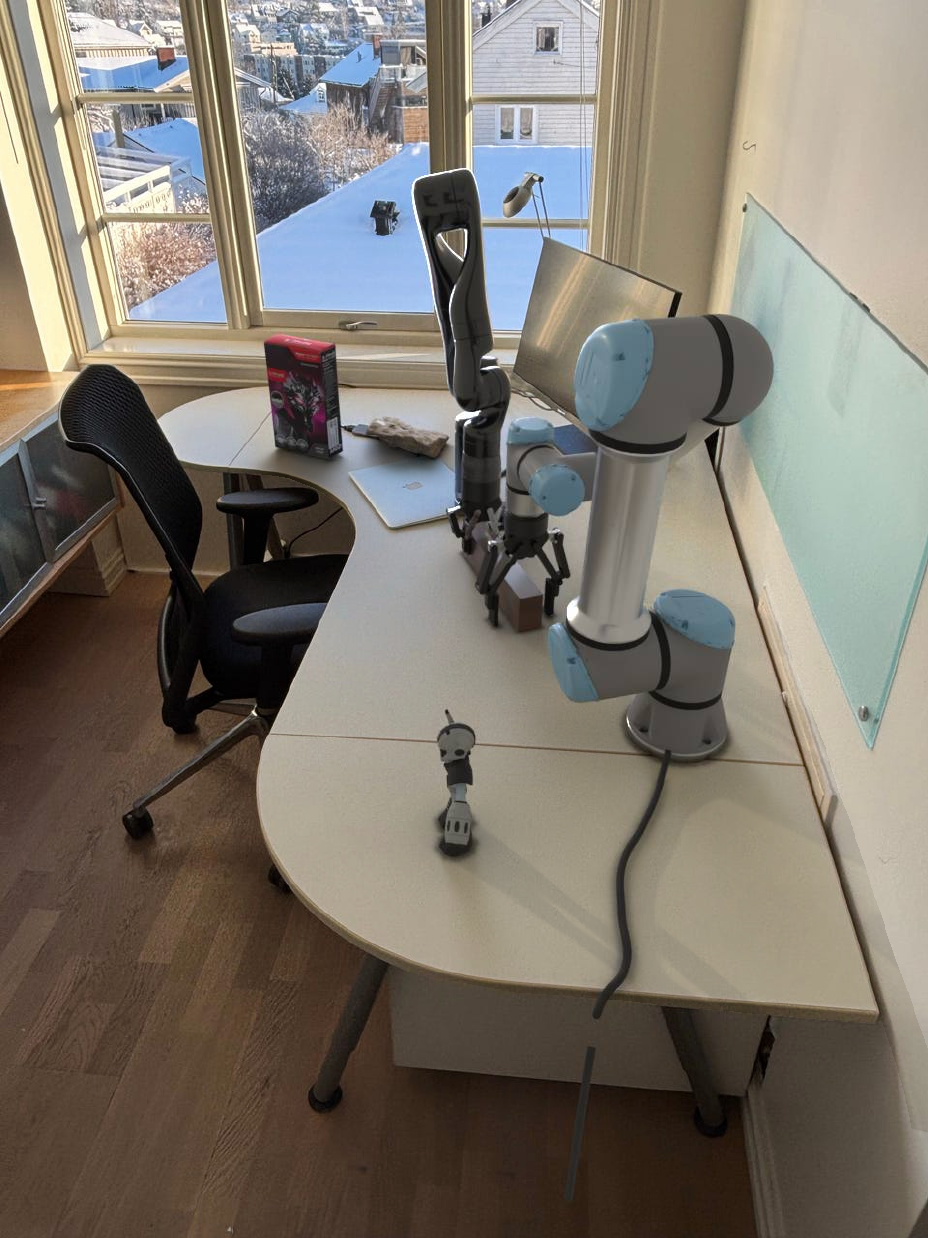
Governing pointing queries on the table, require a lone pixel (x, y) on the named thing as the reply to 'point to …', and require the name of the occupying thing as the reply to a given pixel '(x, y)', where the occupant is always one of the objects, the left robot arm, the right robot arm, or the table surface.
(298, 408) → the graphics card box
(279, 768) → the table surface
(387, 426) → the stone
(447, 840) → the robot
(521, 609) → the beam
